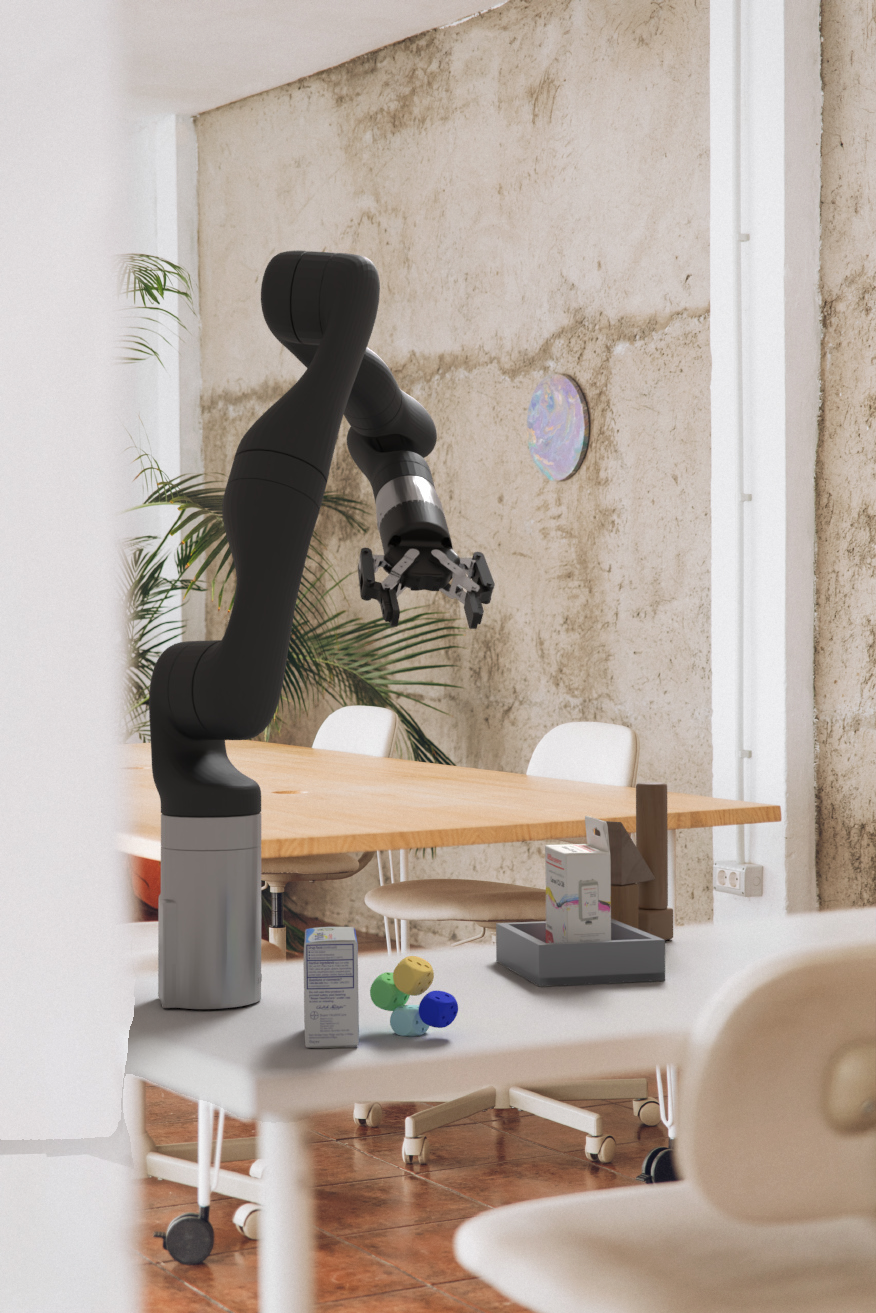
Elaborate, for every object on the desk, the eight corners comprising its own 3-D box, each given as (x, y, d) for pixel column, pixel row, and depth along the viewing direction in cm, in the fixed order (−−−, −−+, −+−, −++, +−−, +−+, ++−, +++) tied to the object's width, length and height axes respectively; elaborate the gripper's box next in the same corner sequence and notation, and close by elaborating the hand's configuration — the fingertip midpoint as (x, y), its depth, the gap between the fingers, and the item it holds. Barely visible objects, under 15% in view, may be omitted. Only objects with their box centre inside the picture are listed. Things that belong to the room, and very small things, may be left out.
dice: (461, 1037, 132) (461, 959, 132) (442, 1042, 130) (442, 963, 130) (385, 1025, 137) (385, 949, 137) (366, 1030, 135) (366, 953, 135)
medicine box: (359, 1048, 128) (359, 940, 128) (303, 1049, 128) (303, 940, 128) (356, 1027, 136) (356, 925, 136) (303, 1028, 135) (303, 926, 136)
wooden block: (594, 947, 178) (593, 785, 178) (647, 936, 186) (647, 781, 186) (622, 951, 175) (621, 787, 176) (674, 939, 183) (674, 782, 184)
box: (539, 986, 154) (538, 945, 154) (496, 961, 169) (496, 923, 169) (665, 980, 157) (664, 939, 158) (612, 955, 172) (612, 918, 172)
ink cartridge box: (542, 956, 167) (542, 815, 167) (588, 954, 168) (588, 814, 168) (565, 970, 159) (564, 821, 159) (613, 968, 160) (612, 821, 160)
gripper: (354, 495, 174) (373, 592, 162) (480, 500, 177) (508, 596, 166) (344, 548, 179) (363, 647, 167) (467, 553, 182) (494, 649, 171)
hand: (435, 621), depth 166 cm, fingers open, 8 cm apart
